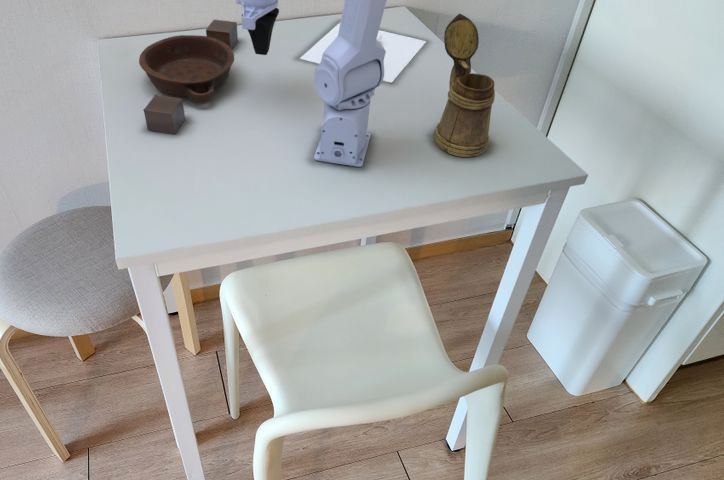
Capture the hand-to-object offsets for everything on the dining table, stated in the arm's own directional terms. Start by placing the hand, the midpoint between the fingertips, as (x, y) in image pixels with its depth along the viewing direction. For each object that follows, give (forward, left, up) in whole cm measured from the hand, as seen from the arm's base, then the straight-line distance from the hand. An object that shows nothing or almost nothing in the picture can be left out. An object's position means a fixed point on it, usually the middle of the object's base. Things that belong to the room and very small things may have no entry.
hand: (261, 52), depth 105 cm
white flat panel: (+21, -16, -8) cm, 27 cm away
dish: (0, +15, -8) cm, 16 cm away
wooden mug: (-6, -36, -8) cm, 37 cm away
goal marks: (0, +13, -7) cm, 15 cm away
